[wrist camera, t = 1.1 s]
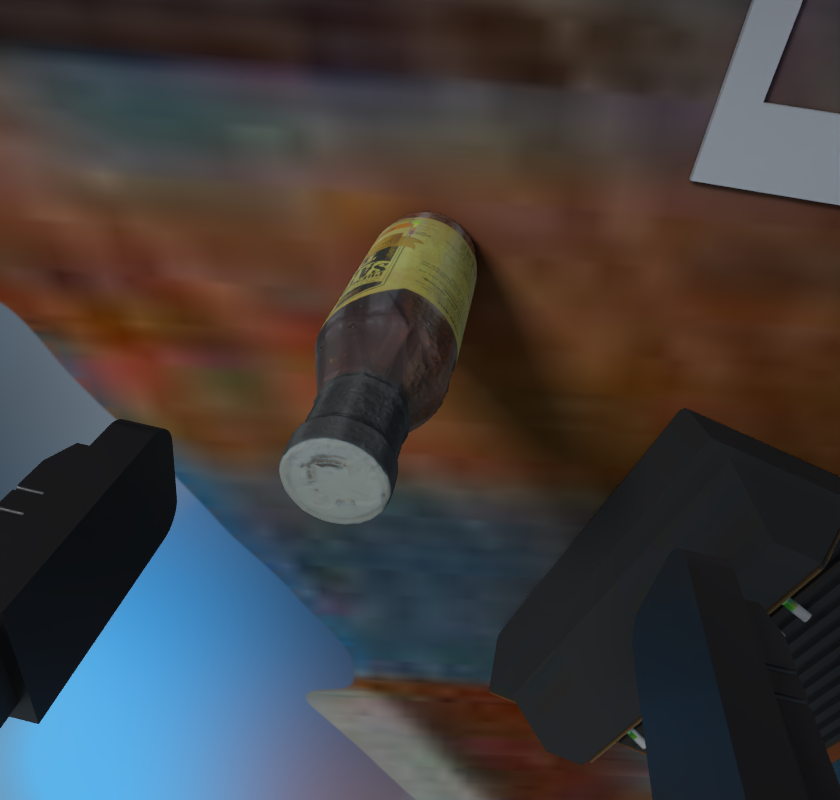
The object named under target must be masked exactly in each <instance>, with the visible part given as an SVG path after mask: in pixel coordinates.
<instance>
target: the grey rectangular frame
mask: <svg viewBox="0 0 840 800" xmlns="http://www.w3.org/2000/svg"><path fill="white" fill-rule="evenodd" d="M802 1H803V0H752V1H751V4H750V7H749V10H748V13H747V16H746V19H745V21H744V24H743V27H742V30H741V33H740V36H739V39H738V41H737V44H736V47H735V50H734V53H733V56H732V59H731V61H730V64H729V67H728V70H727V73H726V76H725V79H724V81H723V84H722V87H721V90H720V93H719V96H718V98H717V101H716V104H715V107H714V110H713V113H712V116H711V118H710V121H709V124H708V127H707V130H706V133H705V136H704V138H703V141H702V144H701V147H700V150H699V153H698V156H697V158H696V161H695V164H694V167H693V170H692V173H691V176H690V178H689V179H690V180H691V181H696V182H702V183H708V184H714V185H720V186H726V187H732V188H738V189H744V190H750V191H756V192H762V193H768V194H774V195H780V196H787V197H793V198H799V199H805V200H811V201H817V202H823V203H829V204H835V205H840V114H839V113H832V112H826V111H820V110H813V109H807V108H800V107H794V106H788V105H781V104H775V103H768V102H764V99H765V97H766V94H767V91H768V89H769V86H770V84H771V81H772V79H773V76H774V73H775V71H776V68H777V66H778V63H779V61H780V58H781V55H782V53H783V50H784V48H785V45H786V43H787V40H788V37H789V35H790V32H791V30H792V27H793V25H794V22H795V19H796V17H797V14H798V12H799V9H800V7H801V4H802Z"/></svg>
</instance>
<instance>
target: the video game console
mask: <svg viewBox="0 0 840 800" xmlns="http://www.w3.org/2000/svg"><path fill="white" fill-rule="evenodd" d="M676 548H679V549H684V550H688V551H692V552H697V553H701V554H705V555H710V556H714V557H718V558H723V559H726V560H728V561H729V562H730V563H731V564H732V566H733V568H734V570H735V573H736V576H737V580H738V583H739V586H740V589H741V592H742V595H743V598H744V599H745V600H750V601H754V602H758V603H760V604H761V606H762V607H763V608H764V610H765V611H766V612H767V613H768V615H769V616H770V617H771V619H772V620H773V621H774V623H775V624H776V625H777V627H778V628H779V629H780V631H781V632H782V633H783V635H784V636H785V639H786V641H787V644H788V647H789V650H790V652H791V655H792V658H793V660H794V663H795V666H796V669H797V673H796V676H797V677H799V678H800V679H801V682H802V685H803V688H804V690H805V693H806V696H807V698H808V701H807V706H808V707H810V708H811V709H812V712H813V715H814V717H815V720H816V723H817V726H818V728H819V731H820V734H821V736H822V739H823V742H824V744H825V747H826V750H827V753H828V755H829V758H830V761H831V763H834V762H835V761H837V760H839V759H840V477H838V476H836V475H833V474H831V473H829V472H827V471H825V470H822V469H820V468H818V467H816V466H813V465H811V464H809V463H807V462H804V461H802V460H800V459H798V458H796V457H793V456H791V455H789V454H787V453H784V452H782V451H780V450H778V449H775V448H773V447H771V446H769V445H767V444H764V443H762V442H760V441H758V440H755V439H753V438H751V437H749V436H746V435H744V434H742V433H740V432H737V431H735V430H733V429H731V428H729V427H726V426H724V425H722V424H720V423H717V422H715V421H713V420H711V419H708V418H706V417H704V416H702V415H700V414H697V413H695V412H693V411H691V410H688V409H686V408H684V409H682V410H680V411H679V412H678V413H677V415H676V416H675V417H674V418H673V420H672V421H671V422H670V423H669V425H668V426H667V427H666V428H665V429H664V431H663V432H662V433H661V434H660V436H659V437H658V438H657V439H656V441H655V442H654V443H653V444H652V446H651V447H650V448H649V449H648V451H647V452H646V453H645V454H644V455H643V457H642V458H641V459H640V460H639V462H638V463H637V464H636V465H635V467H634V468H633V469H632V470H631V472H630V473H629V474H628V475H627V476H626V478H625V479H624V480H623V481H622V483H621V484H620V485H619V486H618V488H617V489H616V490H615V491H614V493H613V494H612V495H611V496H610V498H609V499H608V500H607V501H606V502H605V504H604V505H603V506H602V507H601V509H600V510H599V511H598V512H597V514H596V515H595V516H594V517H593V519H592V520H591V521H590V522H589V523H588V525H587V526H586V527H585V528H584V530H583V531H582V532H581V533H580V535H579V536H578V537H577V538H576V540H575V541H574V542H573V543H572V544H571V546H570V547H569V548H568V549H567V551H566V552H565V553H564V554H563V556H562V557H561V558H560V559H559V561H558V562H557V563H556V564H555V566H554V567H553V568H552V569H551V570H550V572H549V573H548V574H547V575H546V577H545V578H544V579H543V580H542V582H541V583H540V584H539V585H538V587H537V588H536V589H535V590H534V591H533V593H532V594H531V595H530V596H529V598H528V599H527V600H526V601H525V603H524V604H523V605H522V606H521V608H520V609H519V610H518V611H517V613H516V614H515V615H514V616H513V617H512V619H511V620H510V621H509V622H508V624H507V625H506V626H505V627H504V629H503V630H502V631H501V633H500V634H499V637H498V640H497V645H496V651H495V657H494V663H493V670H492V676H491V682H490V688H489V693H491V694H493V695H496V696H498V697H501V698H503V699H506V700H508V701H511V702H514V703H516V704H517V705H518V707H519V709H520V710H521V712H522V713H523V715H524V716H525V718H526V720H527V721H528V723H529V724H530V726H531V727H532V729H533V730H534V732H535V734H536V735H537V737H538V738H539V740H540V741H541V743H542V745H543V746H544V748H545V749H546V751H547V752H550V753H552V754H555V755H558V756H560V757H563V758H565V759H568V760H570V761H573V762H576V763H578V764H581V765H583V764H584V763H585V762H586V761H589V762H590V763H592V762H593V761H594V760H595V759H597V758H598V757H599V756H600V755H601V754H603V753H604V752H605V751H606V750H607V749H609V748H610V747H611V746H612V745H613V744H615V743H617V744H620V745H622V746H625V747H627V748H630V749H632V750H635V751H637V752H640V753H642V754H645V755H647V753H646V746H645V738H644V731H643V723H642V716H641V709H640V701H639V694H638V686H637V679H636V671H635V664H634V656H633V647H632V639H633V629H634V623H635V619H636V615H637V613H638V610H639V608H640V606H641V604H642V603H643V601H644V599H645V597H646V595H647V593H648V592H649V590H650V588H651V586H652V584H653V583H654V581H655V579H656V577H657V575H658V573H659V572H660V570H661V568H662V566H663V564H664V563H665V561H666V559H667V557H668V556H669V554H670V553H671V552H672V551H673V550H674V549H676Z"/></svg>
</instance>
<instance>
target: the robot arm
mask: <svg viewBox="0 0 840 800" xmlns="http://www.w3.org/2000/svg"><path fill="white" fill-rule="evenodd" d="M176 505H177V496H176V483H175V470H174V458H173V445H172V437H171V434H170V432H169V431H168V430H166V429H162V428H158V427H154V426H149V425H145V424H141V423H136V422H132V421H128V420H123V419H119V420H116V421H114V422H113V423H112V424H111V425H109V426H108V427H107V428H106V430H105V431H104V432H103V433H102V434H101V435H100V436H99V437H98V438H97V439H96V440H95V441H94V442H93V443H92V444H91V445H90V446H88V445H84V444H79V443H76V444H74V445H73V446H70V447H68V448H66V449H65V450H63V451H61V452H59V453H57V454H55V455H53V456H51V457H49V458H47V459H45V460H43V461H42V462H41V463H40V464H39V465H38V466H37V467H36V468H35V469H34V470H33V471H32V472H31V473H30V474H29V475H27V476H26V477H25V479H23V480H22V481H21V482H20V483H19V484H18V488H17V489H16V490H12V491H11V492H10V493H9V494H8V495H7V496H6V497H4V498H3V500H1V502H0V728H1V727H2V725H3V723H4V722H5V721H6V720H7V718H8V717H13V718H18V719H21V720H25V721H29V722H33V723H37V724H39V723H40V721H41V720H42V718H43V717H44V715H45V714H46V712H47V711H48V710H49V708H50V706H51V705H52V704H53V702H54V701H55V699H56V698H57V696H58V695H59V693H60V692H61V690H62V689H63V687H64V686H65V684H66V683H67V681H68V680H69V679H70V677H71V676H72V674H73V673H74V671H75V670H76V668H77V667H78V665H79V664H80V662H81V661H82V659H83V658H84V657H85V655H86V654H87V652H88V651H89V649H90V648H91V646H92V645H93V643H94V642H95V640H96V639H97V637H98V636H99V634H100V633H101V631H102V630H103V629H104V627H105V626H106V624H107V623H108V621H109V620H110V618H111V616H112V615H113V614H114V612H115V611H116V609H117V608H118V606H119V605H120V604H121V602H122V600H123V599H124V598H125V596H126V595H127V593H128V592H129V590H130V589H131V587H132V586H133V584H134V583H135V581H136V580H137V578H138V577H139V576H140V574H141V573H142V571H143V569H144V568H145V567H146V565H147V564H148V562H149V561H150V559H151V558H152V556H153V555H154V553H155V552H156V550H157V549H158V547H159V546H160V544H161V543H162V542H163V540H164V539H165V537H166V535H167V534H168V531H169V530H170V527H171V525H172V522H173V519H174V515H175V511H176ZM632 647H633V656H634V664H635V671H636V679H637V686H638V694H639V701H640V709H641V716H642V723H643V731H644V738H645V746H646V753H647V761H648V768H649V776H650V783H651V791H652V798H653V800H840V785H839V782H838V780H837V777H836V774H835V772H834V769H833V766H832V763H831V761H830V758H829V755H828V753H827V750H826V747H825V744H824V742H823V739H822V736H821V734H820V731H819V728H818V726H817V723H816V720H815V717H814V715H813V712H812V709H811V708H810V707H808V706H807V701H808V698H807V696H806V693H805V690H804V688H803V685H802V682H801V679H800V678H799V677H797V676H796V673H797V669H796V666H795V663H794V660H793V658H792V655H791V652H790V650H789V647H788V644H787V641H786V639H785V636H784V635H783V633H782V632H781V631H780V629H779V628H778V627H777V625H776V624H775V623H774V621H773V620H772V619H771V617H770V616H769V615H768V613H767V612H766V611H765V610H764V608H763V607H762V606H761V604H760V603H758V602H754V601H750V600H745V599H744V598H743V595H742V592H741V589H740V586H739V583H738V580H737V576H736V573H735V570H734V568H733V566H732V564H731V563H730V562H729V561H728V560H726V559H723V558H718V557H714V556H710V555H705V554H701V553H697V552H692V551H688V550H684V549H679V548H676V549H674V550H673V551H672V552H671V553H670V554H669V556H668V557H667V559H666V561H665V563H664V564H663V566H662V568H661V570H660V572H659V573H658V575H657V577H656V579H655V581H654V583H653V584H652V586H651V588H650V590H649V592H648V593H647V595H646V597H645V599H644V601H643V603H642V604H641V606H640V608H639V610H638V613H637V615H636V619H635V623H634V629H633V639H632Z"/></svg>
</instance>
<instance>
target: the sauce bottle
mask: <svg viewBox="0 0 840 800" xmlns="http://www.w3.org/2000/svg"><path fill="white" fill-rule="evenodd" d="M476 264H477V261H476V255H475V250H474V245H473V242H472V240H471V238H470V237H469V236H468V235H467V233H466V232H465V230H464V229H462V228H461V227H460V226H459V224H457V223H456V222H455V221H454V220H451V219H450V218H448V217H447V216H445V215H442V214H439V213H435V212H424V211H423V212H417V213H410V214H407V215H405V216H403V217H402V218H400V219H399V220H397V221H395V222H394V223H393V224H392V225H391V226H389V227H388V228H387V229H385V230H384V231H383V232H382V233H381V234H380V235H379V237H378V238H377V240H376V241H375V243H374V244H373V246H372V248H371V249H370V251H369V252H368V254H367V256H366V257H365V259H364V260H363V262H362V263H361V265H360V267H359V268H358V270H357V271H356V272H355V273H354V276H353V277H352V279H351V281H350V282H349V284H348V286H347V287H346V289H345V290H344V292H343V293H342V295H341V297H340V299H339V301H338V302H337V304H336V305H335V307H334V309H333V310H332V311H331V313H330V314H329V316H328V318H327V320H326V322H325V323H324V325H323V327H322V328H321V330H320V332H319V335H318V337H317V341H316V347H315V354H316V376H317V396H316V398H315V400H314V406H313V408H312V410H311V412H310V413H309V415H308V417H307V419H306V421H305V423H303V424H301V425H300V426H299V427H298V428H297V429H296V430H295V431H294V433H293V434H292V436H291V438H290V440H289V442H288V444H287V446H286V449H285V451H284V453H283V455H282V458H281V461H280V472H279V473H280V477H281V481H282V483H283V487H284V489H285V490H286V492H287V493H288V494H289V495H290V497H291V498H292V499H293V501H294V502H295V503H296V504H297V505H298V506H299V507H300V508H301V509H302V510H304V511H306V512H307V513H309V514H311V515H312V516H314V517H316V518H319V519H322V520H324V521H328V522H332V523H339V524H353V523H359V524H360V523H362V522H364V521H369V520H371V519H373V518H374V517H376V516H378V515H379V514H381V512H382V511H383V510H384V509H385V508H386V506H387V505H388V503H389V501H390V498H391V496H392V494H393V490H394V487H395V483H396V479H397V474H398V461H397V460H398V456H399V453H400V450H401V446H402V444H403V443H404V441H405V439H406V438H407V436H408V433H409V432H411V431H413V430H414V429H416V428H418V427H420V426H421V425H422V424H424V423H425V422H426V421H428V420H429V419H430V418H431V417H432V416H433V415H434V414H435V413H436V412H437V410H438V409H439V407H440V406H441V405H442V403H443V400H444V398H445V396H446V393H447V392H448V388H449V381H450V376H451V373H452V372H453V371H454V369H455V366H456V363H457V359H458V355H459V351H460V347H461V343H462V339H463V334H464V330H465V326H466V322H467V318H468V314H469V310H470V306H471V302H472V298H473V294H474V289H475V284H476V279H477V266H476Z"/></svg>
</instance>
